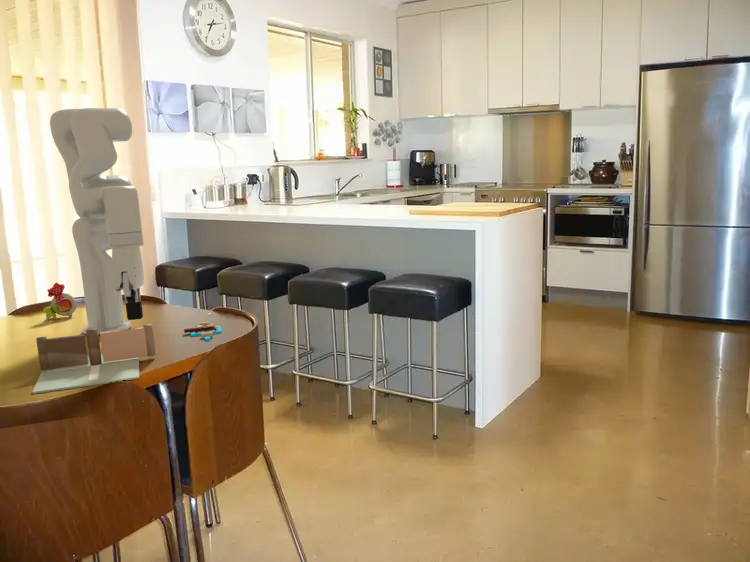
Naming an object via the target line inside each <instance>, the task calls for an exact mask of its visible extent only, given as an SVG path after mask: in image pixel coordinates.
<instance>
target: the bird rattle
mask: <svg viewBox="0 0 750 562" xmlns="http://www.w3.org/2000/svg"><path fill="white" fill-rule="evenodd" d="M65 287H66V286H65V284H59V283H58V282H55V283H54V284H53V285H52V287H50V288H49V289H47V292H48V293H47V296H48V297H49V298H52V297H53V298H52V299H51V302H50V304H49V305H48V306H45V307H44V308H42V311H43V313H45V318H46V319H48V320H49V319H51V317H52V319H53V320H55V319H56V318H57V319H58V317H57V315H59V316H62V317H69V316H71V317H72V316H73V313H74V312H75V311H76V310H77V306H78V305H77V304H78V303H77V299H76V298H75V297H74V296H73V295H71V294H70V293H65V292H64V289H65ZM56 314H57V315H56ZM57 319H56V320H57Z"/></svg>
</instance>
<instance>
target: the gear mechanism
mask: <svg viewBox="0 0 750 562" xmlns="http://www.w3.org/2000/svg"><path fill="white" fill-rule="evenodd" d="M211 316H212V315H211V313H208V317H209V318H208V319H209V321H204V322H203V321H201V322H198V325H197V326H196V327H191V328H184V329H183V331H184V332H183V333H190V337H200V338H201V340H205V342H210V341H211V339H213V338H214V335H218V334H222V333H223V332H222V331H223V330H222V327H221V326H220V325H214V324H213V323H212V317H211ZM194 332H195V333H194Z"/></svg>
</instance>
